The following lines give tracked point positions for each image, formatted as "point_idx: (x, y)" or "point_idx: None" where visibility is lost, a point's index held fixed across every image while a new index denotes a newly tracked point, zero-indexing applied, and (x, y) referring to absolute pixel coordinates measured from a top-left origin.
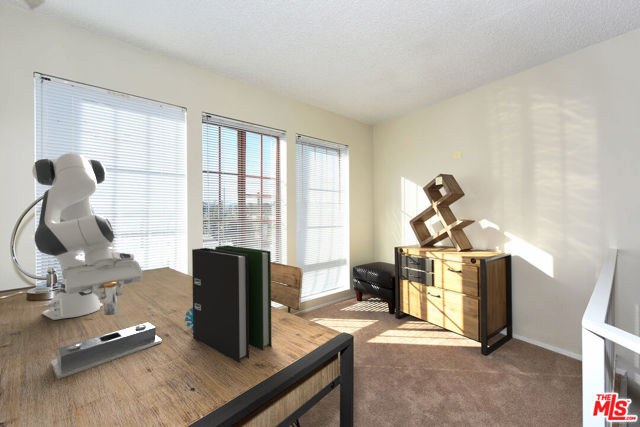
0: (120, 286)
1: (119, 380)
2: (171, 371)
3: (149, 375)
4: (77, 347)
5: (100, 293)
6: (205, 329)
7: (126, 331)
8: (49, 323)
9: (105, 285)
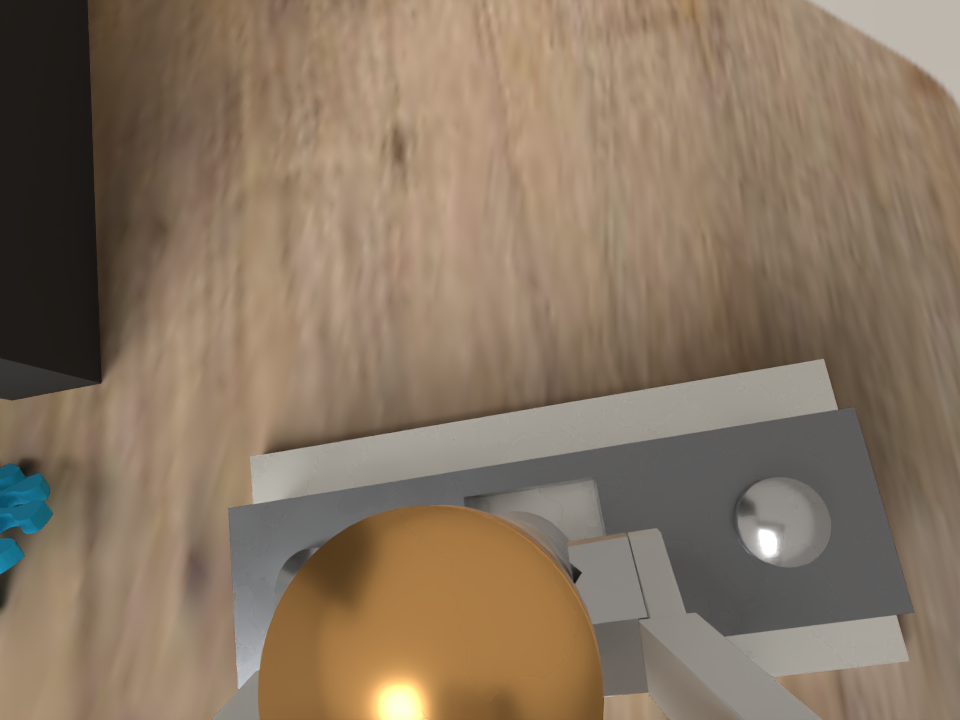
0: (258, 713)
1: (529, 135)
2: (322, 68)
3: (409, 94)
4: (763, 481)
5: (645, 589)
6: (15, 191)
7: None
8: None
9: (550, 561)
